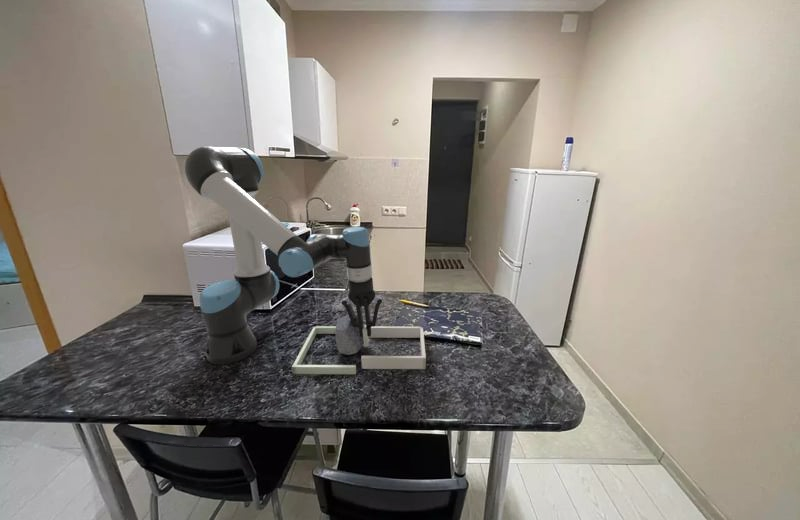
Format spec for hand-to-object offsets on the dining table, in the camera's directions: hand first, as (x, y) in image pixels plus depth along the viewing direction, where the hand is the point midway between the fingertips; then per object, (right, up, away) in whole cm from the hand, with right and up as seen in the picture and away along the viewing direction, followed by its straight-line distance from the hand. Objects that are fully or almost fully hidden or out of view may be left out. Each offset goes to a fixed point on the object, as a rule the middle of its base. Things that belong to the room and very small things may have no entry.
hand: (366, 344), depth 101 cm
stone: (-5, -2, +1) cm, 5 cm away
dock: (+9, -3, +1) cm, 10 cm away
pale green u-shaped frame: (-11, -3, +1) cm, 12 cm away
